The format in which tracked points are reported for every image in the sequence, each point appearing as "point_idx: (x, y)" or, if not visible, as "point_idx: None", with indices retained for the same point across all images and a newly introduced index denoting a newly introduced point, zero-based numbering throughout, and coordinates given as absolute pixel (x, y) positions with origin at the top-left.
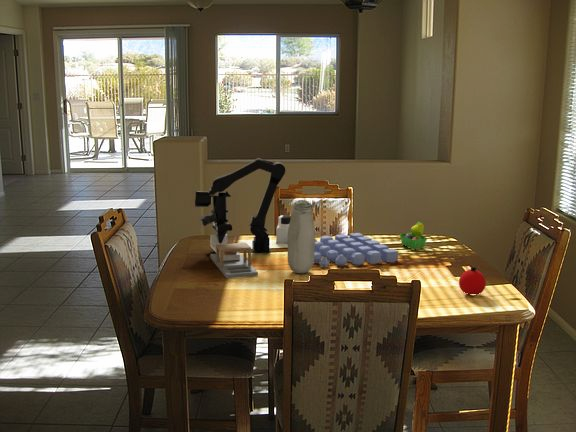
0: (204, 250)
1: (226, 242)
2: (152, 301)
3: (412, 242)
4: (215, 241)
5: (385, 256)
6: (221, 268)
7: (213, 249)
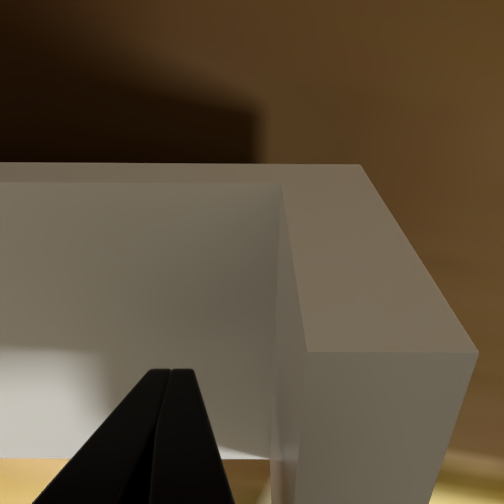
0: (396, 4)
1: (270, 473)
2: None
3: None
4: (281, 325)
5: None
6: None
7: (26, 164)
